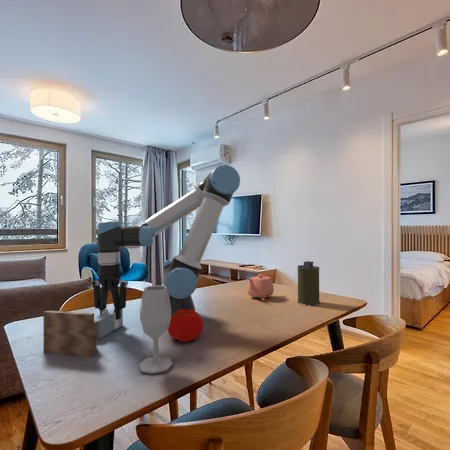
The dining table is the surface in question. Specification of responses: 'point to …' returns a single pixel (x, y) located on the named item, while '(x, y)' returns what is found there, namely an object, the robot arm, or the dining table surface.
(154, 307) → the wineglass
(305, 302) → the canister
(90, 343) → the panel
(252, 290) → the teapot
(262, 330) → the dining table surface
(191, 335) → the tomato
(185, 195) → the robot arm
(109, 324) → the rail
